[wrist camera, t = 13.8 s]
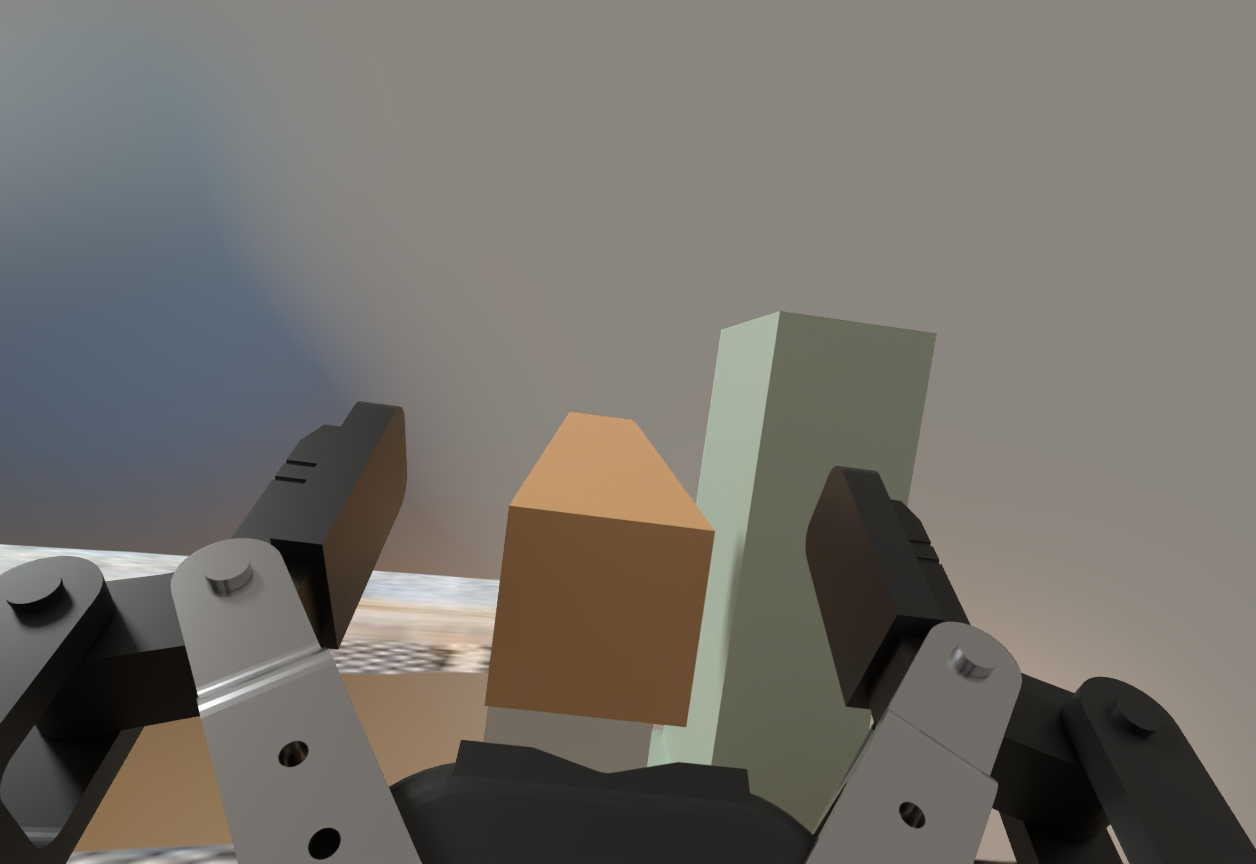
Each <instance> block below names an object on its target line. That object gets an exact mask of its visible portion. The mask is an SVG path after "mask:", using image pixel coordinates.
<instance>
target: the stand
mask: <svg viewBox="0 0 1256 864" xmlns="http://www.w3.org/2000/svg"><path fill="white" fill-rule="evenodd" d="M935 340H936V333H929V332H922V331H915V330H908V329H901V328H894V327H887V326H880V325H873V324H866V323H859V322H852V321H845V320H838V319H831V318H824V317H817V316H810V315H803V314H796V313H789V312H782V311H779V312H776V313H773V314H770V315H767V316H763V317H760V318H757V319H754V320H751V321H748V322H745V323H742V324H738V325H735V326H732V327H729V328H726V329H723V330H721V335H720V342H719V349H718V356H717V363H716V370H715V377H714V383H713V390H712V398H711V404H710V412H709V418H708V425H707V432H706V439H705V446H704V453H703V460H702V467H701V473H700V480H699V487H698V494H697V501H696V505H697V507H698V508H699V510H700V511H701V512H702V514H703V515H704V516H705V518H706V519H707V520H708V522H709V523H710V524H711V526H712V527H713V529H714V530H715V536H714V543H713V550H712V557H711V564H710V570H709V577H708V584H707V591H706V597H705V604H704V611H703V618H702V624H701V631H700V638H699V645H698V651H697V658H696V665H695V672H694V678H693V685H692V692H691V699H690V706H689V712H688V719H687V726H686V727H679V726H669V725H664V728H663V731H660V730H652V735H651V742H650V749H649V756H648V763H647V767H651V766H657V765H663V764H669V763H675V762H683V763H693V764H703V765H713V766H723V767H732V768H742V769H747V772H748V780H749V788H750V793H752V794H754V795H757V796H759V797H761V798H763V799H765V800H767V801H769V802H771V803H773V804H775V805H776V806H778V807H779V808H781V809H782V810H784V811H786V812H787V813H789V814H790V815H791V816H793V817H794V818H795V819H796V820H797V821H799V822H800V823H801V824H802V825H804V826H805V827H806V828H807V829H808V830H809V831H810V832H811V833H812V831H813V829H814V828H815V826H816V824H817V823H818V821H819V819H820V817H821V816H822V814H823V812H824V810H825V809H826V807H827V805H828V803H829V801H830V800H831V798H832V796H833V794H834V792H835V791H836V789H837V787H838V785H839V783H840V782H841V780H842V778H843V776H844V774H845V773H846V771H847V769H848V767H849V765H850V764H851V762H852V760H853V758H854V756H855V754H856V753H857V751H858V749H859V747H860V745H861V744H862V742H863V740H864V738H865V736H866V735H867V733H868V731H869V726H870V719H871V714H872V713H871V710H870V709H861V708H852V707H846V706H845V702H844V699H843V695H842V691H841V687H840V683H839V680H838V676H837V672H836V668H835V664H834V661H833V657H832V653H831V649H830V645H829V642H828V638H827V634H826V630H825V626H824V623H823V619H822V615H821V611H820V607H819V604H818V600H817V596H816V592H815V588H814V585H813V581H812V577H811V573H810V569H809V566H808V562H807V558H806V550H805V542H806V534H807V529H808V525H809V523H810V520H811V518H812V515H813V513H814V510H815V508H816V505H817V503H818V500H819V498H820V495H821V493H822V490H823V488H824V485H825V483H826V480H827V478H828V476H829V473H830V471H831V470H832V469H833V467H835V466H843V467H851V468H859V469H866V470H874V471H877V472H878V473H879V475H880V477H881V479H882V481H883V484H884V486H885V488H886V490H887V493H888V495H889V497H890V499H892V500H899V501H902V502H903V503H904V504H905V505H906V506H907V504H908V497H909V492H910V486H911V480H912V474H913V468H914V463H915V457H916V450H917V445H918V439H919V433H920V427H921V422H922V415H923V410H924V404H925V398H926V392H927V386H928V380H929V375H930V369H931V363H932V357H933V351H934V346H935Z"/></svg>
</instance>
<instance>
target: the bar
mask: <svg viewBox="0 0 1256 864" xmlns="http://www.w3.org/2000/svg"><path fill="white" fill-rule="evenodd" d="M714 536H715V530H714V529H713V527H712V526H711V524H710V523H709V522H708V520H707V519H706V518H705V516H704V515H703V514H702V512H701V511H700V510H699V508H698V507H697V505H696V504H695V503H694V501H693V500H692V499H691V497H690V496H689V495H688V494H687V492H686V490H685V489H684V488H683V486H682V485H681V484H680V482H679V481H678V480H677V478H676V477H675V476H674V474H673V473H672V471H671V470H670V469H669V467H668V466H667V465H666V463H665V462H664V461H663V459H662V458H661V457H660V455H659V454H658V452H657V451H656V450H655V449H654V447H653V446H652V445H651V443H650V442H649V440H648V439H647V438H646V436H645V435H644V434H643V432H642V431H641V429H640V428H639V427H638V425H637V424H636V423H635V421H634V420H628V419H621V418H613V417H605V416H598V415H590V414H583V413H575V412H569V414H568V415H567V417H566V419H565V420H564V422H563V423H562V425H561V426H560V428H559V429H558V431H557V433H556V434H555V436H554V437H553V439H552V440H551V442H550V443H549V445H548V446H547V448H546V449H545V451H544V453H543V454H542V456H541V457H540V459H539V460H538V462H537V463H536V465H535V466H534V468H533V470H532V471H531V473H530V474H529V476H528V477H527V479H526V480H525V482H524V483H523V485H522V487H521V488H520V490H519V491H518V493H517V494H516V496H515V497H514V499H513V500H512V502H511V504H510V505H509V512H508V519H507V528H506V536H505V544H504V552H503V561H502V569H501V577H500V585H499V593H498V601H497V609H496V618H495V626H494V634H493V642H492V650H491V658H490V667H489V675H488V683H487V692H486V700H485V706H492V707H501V708H510V709H520V710H529V711H538V712H548V713H557V714H566V715H576V716H585V717H594V718H604V719H613V720H622V721H632V722H641V723H651V724H660V725H669V726H679V727H686V726H687V719H688V712H689V706H690V699H691V692H692V685H693V678H694V672H695V665H696V658H697V651H698V645H699V638H700V631H701V624H702V618H703V611H704V604H705V597H706V591H707V584H708V577H709V570H710V564H711V557H712V550H713V543H714Z"/></svg>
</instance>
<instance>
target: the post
mask: <svg viewBox="0 0 1256 864" xmlns="http://www.w3.org/2000/svg"><path fill="white" fill-rule="evenodd" d="M652 728H653V724H651V723H641V722H632V721H622V720H613V719H604V718H594V717H585V716H576V715H566V714H557V713H548V712H538V711H529V710H520V709H510V708H501V707H492V706H488V711H487V719H486V727H485V735H484V742H487V743H496V744H506V745H516V746H526V747H534V748H536V749H539V750H542V751H544V752H547V753H550V754H553V755H555V756H558V757H561V758H563V759H566V760H569V761H572V762H574V763H577V764H580V765H582V766H585V767H588V768H590V769H593V770H596V771H599V772H603V773H614V772H620V771H626V770H632V769H638V768H644V767H647V763H648V756H649V749H650V742H651V735H652Z"/></svg>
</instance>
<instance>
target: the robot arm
mask: <svg viewBox="0 0 1256 864" xmlns="http://www.w3.org/2000/svg"><path fill="white" fill-rule="evenodd" d="M405 440H406V439H405V420H404V412H403V409H402V407H399V406H391V405H384V404H377V403H369V402H362V401H359V402H357V403H356V404H355V406H354V407H353V409H352V410H351V412H350V413H349V415H348V417H347V418H346V420H345V421H344V423H343V424H342V426H341V427H339V426H331V425H323V426H321V427H320V428H318V429H317V430H315V431H314V432H312V433H311V434H309V435H308V436H306V437H305V438H303V439H302V440H300V441H299V443H298V444H297V446H296V447H295V449H294V450H293V451H292V453H291V454H290V456H289V457H288V458H287V462H286V464H283V466H282V467H281V468H280V470H279V471H278V473H277V474H276V476H275V480H272V481H271V482H270V484H269V485H268V487H267V488H266V490H265V491H264V492H263V494H262V495H261V497H260V498H259V500H258V501H257V502H256V504H255V505H254V507H253V508H252V510H251V511H250V512H249V514H248V515H247V517H246V518H245V519H244V521H243V522H242V524H241V525H240V526H239V528H238V529H237V531H236V532H235V534H234V535H233V536H232V538H231V539H228V540H224V541H220V542H216V543H213V544H211V545H208V546H206V547H204V548H201V549H200V550H198V551H196V552H195V553H193V554H191V555H190V556H189V557H188V558H186V559H185V560H184V561H183V562H182V563H181V564H180V565H179V566H178V568H177V569H176V571H175V572H173V573H168V574H162V575H155V576H147V577H139V578H131V579H122V580H114V581H106V582H105V579H104V577H103V575H102V572H101V571H100V569H99V567H98V566H96V565H95V564H94V563H93V562H91V561H89V560H86V559H83V558H79V557H72V556H57V557H48V558H43V559H38V560H35V561H31V562H28V563H25V564H22V565H20V566H17V567H15V568H13V569H10V570H8V571H6V572H4V573H3V574H1V575H0V864H66V862H67V860H68V859H69V857H70V855H71V853H72V852H73V850H74V848H75V846H76V845H77V843H78V841H79V840H80V838H81V836H82V834H83V833H84V831H85V829H86V827H87V826H88V824H89V822H90V820H91V819H92V817H93V815H94V813H95V812H96V810H97V808H98V806H99V805H100V803H101V801H102V799H103V798H104V796H105V794H106V792H107V791H108V789H109V787H110V785H111V784H112V782H113V780H114V779H115V777H116V775H117V773H118V772H119V770H120V768H121V766H122V765H123V763H124V761H125V759H126V758H127V756H128V754H129V752H130V751H131V749H132V747H133V745H134V744H135V742H136V740H137V738H138V737H139V735H140V733H141V731H142V730H143V728H144V726H148V725H154V724H159V723H165V722H170V721H175V720H180V719H186V718H191V717H197V716H201V720H202V724H203V728H204V732H205V736H206V740H207V744H208V748H209V751H210V755H211V759H212V763H213V767H214V771H215V775H216V779H217V783H218V787H219V790H220V794H221V798H222V802H223V806H224V810H225V814H226V818H227V822H228V825H229V830H230V833H231V837H232V841H233V845H234V849H235V853H236V857H237V861H238V864H973V863H974V860H975V857H976V854H977V851H978V848H979V844H980V842H981V838H982V835H983V833H984V830H985V827H986V824H987V821H988V818H989V815H990V812H991V809H992V808H993V809H995V810H998V811H999V813H1000V816H1001V819H1002V821H1003V824H1004V827H1005V830H1006V833H1007V835H1008V838H1009V841H1010V844H1011V847H1012V849H1013V852H1014V855H1015V858H1016V861H1017V864H1123V862H1122V860H1121V858H1120V856H1119V854H1118V852H1117V850H1116V848H1115V846H1114V843H1113V841H1112V839H1111V837H1110V835H1109V833H1108V831H1107V829H1106V828H1107V827H1108V826H1109V825H1110V824H1111V826H1112V828H1113V830H1114V832H1115V834H1116V836H1117V839H1118V840H1119V842H1120V845H1121V847H1122V849H1123V851H1124V853H1125V855H1126V857H1127V859H1128V861H1129V864H1256V849H1255V847H1254V846H1253V844H1252V843H1251V841H1250V839H1249V838H1248V836H1247V835H1246V833H1245V831H1244V830H1243V828H1242V827H1241V825H1240V823H1239V822H1238V820H1237V819H1236V817H1235V815H1234V814H1233V812H1232V811H1231V809H1230V807H1229V806H1228V804H1227V803H1226V801H1225V800H1224V798H1223V796H1222V795H1221V793H1220V792H1219V790H1218V788H1217V787H1216V786H1215V784H1214V782H1213V780H1212V779H1211V777H1210V776H1209V774H1208V772H1207V771H1206V769H1205V768H1204V766H1203V764H1202V763H1201V761H1200V760H1199V759H1198V756H1197V755H1196V753H1195V752H1194V750H1193V748H1192V747H1191V745H1190V744H1189V742H1188V741H1187V739H1186V737H1185V736H1184V734H1183V733H1182V731H1181V729H1180V728H1179V726H1178V725H1177V723H1176V722H1175V721H1174V719H1173V718H1172V717H1171V716H1170V715H1169V713H1168V712H1167V711H1166V710H1165V709H1164V708H1163V707H1162V706H1161V705H1160V704H1158V703H1157V702H1156V701H1155V700H1153V699H1152V698H1151V697H1150V696H1148V695H1147V694H1145V693H1144V692H1142V691H1141V690H1139V689H1137V688H1135V687H1134V686H1131V685H1129V684H1127V683H1125V682H1122V681H1119V680H1117V679H1113V678H1108V677H1094V678H1090V679H1088V680H1086V681H1085V682H1084V683H1083V684H1082V686H1080V688H1079V689H1078V690H1077V691H1076V692H1075V693H1072V692H1070V691H1067V690H1064V689H1062V688H1059V687H1056V686H1054V685H1051V684H1048V683H1046V682H1043V681H1041V680H1038V679H1035V678H1033V677H1030V676H1028V675H1025V674H1023V673H1021V672H1020V668H1019V666H1018V664H1017V662H1016V660H1015V659H1014V657H1013V656H1012V655H1011V653H1010V652H1009V651H1008V650H1007V649H1006V648H1005V647H1004V646H1003V645H1002V644H1001V643H1000V642H999V641H997V640H996V639H995V638H994V637H992V636H991V635H989V634H988V633H986V632H984V631H982V630H980V629H978V628H976V627H973V626H971V625H970V623H969V621H968V619H967V617H966V614H965V612H964V610H963V608H962V606H961V604H960V602H959V600H958V598H957V596H956V594H955V591H954V589H953V587H952V585H951V583H950V581H949V579H948V577H947V575H946V573H945V571H944V569H943V567H942V565H941V564H939V558H938V556H937V554H936V552H935V550H934V548H933V547H932V546H930V544H931V542H930V539H929V537H928V535H927V533H926V531H925V529H924V527H923V525H922V523H921V521H920V520H919V519H918V518H917V517H916V516H915V515H914V514H913V513H912V512H911V511H910V510H909V508H908V507H907V506H906V505H905V504H904V503H903V502H902V501H899V500H892V499H890V497H889V495H888V493H887V490H886V488H885V486H884V484H883V481H882V479H881V477H880V475H879V473H878V472H877V471H874V470H866V469H859V468H851V467H843V466H835V467H833V469H832V470H831V471H830V473H829V476H828V478H827V480H826V483H825V485H824V488H823V490H822V493H821V495H820V498H819V500H818V503H817V505H816V508H815V510H814V513H813V515H812V518H811V520H810V523H809V525H808V529H807V534H806V542H805V550H806V558H807V562H808V566H809V569H810V573H811V577H812V581H813V585H814V588H815V592H816V596H817V600H818V604H819V607H820V611H821V615H822V619H823V623H824V626H825V630H826V634H827V638H828V642H829V645H830V649H831V653H832V657H833V661H834V664H835V668H836V672H837V676H838V680H839V683H840V687H841V691H842V695H843V699H844V702H845V706H846V707H852V708H861V709H870V710H871V713H872V717H873V720H874V723H873V725H872V726H871V728H870V729H869V731H868V733H867V735H866V736H865V738H864V740H863V742H862V744H861V745H860V747H859V749H858V751H857V753H856V754H855V756H854V758H853V760H852V762H851V764H850V765H849V767H848V769H847V771H846V773H845V774H844V776H843V778H842V780H841V782H840V783H839V785H838V787H837V789H836V791H835V792H834V794H833V796H832V798H831V800H830V801H829V803H828V805H827V807H826V809H825V810H824V812H823V814H822V816H821V817H820V819H819V821H818V823H817V824H816V826H815V828H814V829H813V831H812V833H811V832H810V831H809V830H808V829H807V828H806V827H805V826H804V825H802V824H801V823H800V822H799V821H797V820H796V819H795V818H794V817H793V816H791V815H790V814H789V813H787V812H786V811H784V810H782V809H781V808H779V807H778V806H776V805H775V804H773V803H771V802H769V801H767V800H765V799H763V798H761V797H759V796H757V795H754V794H752V793H750V788H749V780H748V772H747V769H742V768H732V767H723V766H713V765H703V764H693V763H683V762H675V763H669V764H663V765H657V766H651V767H644V768H638V769H632V770H626V771H620V772H614V773H603V772H599V771H596V770H593V769H590V768H588V767H585V766H582V765H580V764H577V763H574V762H572V761H569V760H566V759H563V758H561V757H558V756H555V755H553V754H550V753H547V752H544V751H542V750H539V749H536V748H534V747H526V746H516V745H506V744H496V743H487V742H477V741H467V740H461V742H460V747H459V751H458V756H457V759H456V762H455V763H450V764H445V765H440V766H436V767H433V768H430V769H426V770H423V771H421V772H418V773H416V774H413V775H411V776H409V777H406V778H404V779H402V780H400V781H399V782H397V783H395V784H393V785H392V786H389V787H388V785H387V782H386V780H385V778H384V775H383V773H382V771H381V769H380V766H379V764H378V762H377V759H376V757H375V755H374V752H373V750H372V748H371V745H370V743H369V741H368V738H367V736H366V734H365V731H364V729H363V727H362V725H361V722H360V720H359V718H358V715H357V713H356V711H355V709H354V706H353V704H352V701H351V699H350V697H349V695H348V692H347V690H346V688H345V685H344V683H343V681H342V678H341V676H340V674H339V671H338V669H337V667H336V664H335V662H334V660H333V658H332V656H331V654H330V652H329V650H328V649H327V648H329V649H339V646H340V644H341V642H342V639H343V637H344V635H345V633H346V630H347V628H348V626H349V624H350V621H351V619H352V617H353V615H354V612H355V610H356V608H357V605H358V603H359V601H360V599H361V596H362V594H363V592H364V590H365V587H366V585H367V583H368V580H369V578H370V576H371V574H372V571H373V569H374V567H375V565H376V562H377V560H378V558H379V555H380V553H381V551H382V549H383V546H384V544H385V542H386V539H387V537H388V535H389V533H390V530H391V528H392V526H393V524H394V521H395V519H396V517H397V515H398V512H399V510H400V508H401V505H402V502H403V499H404V495H405V489H406V483H407V460H406V441H405Z"/></svg>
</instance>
